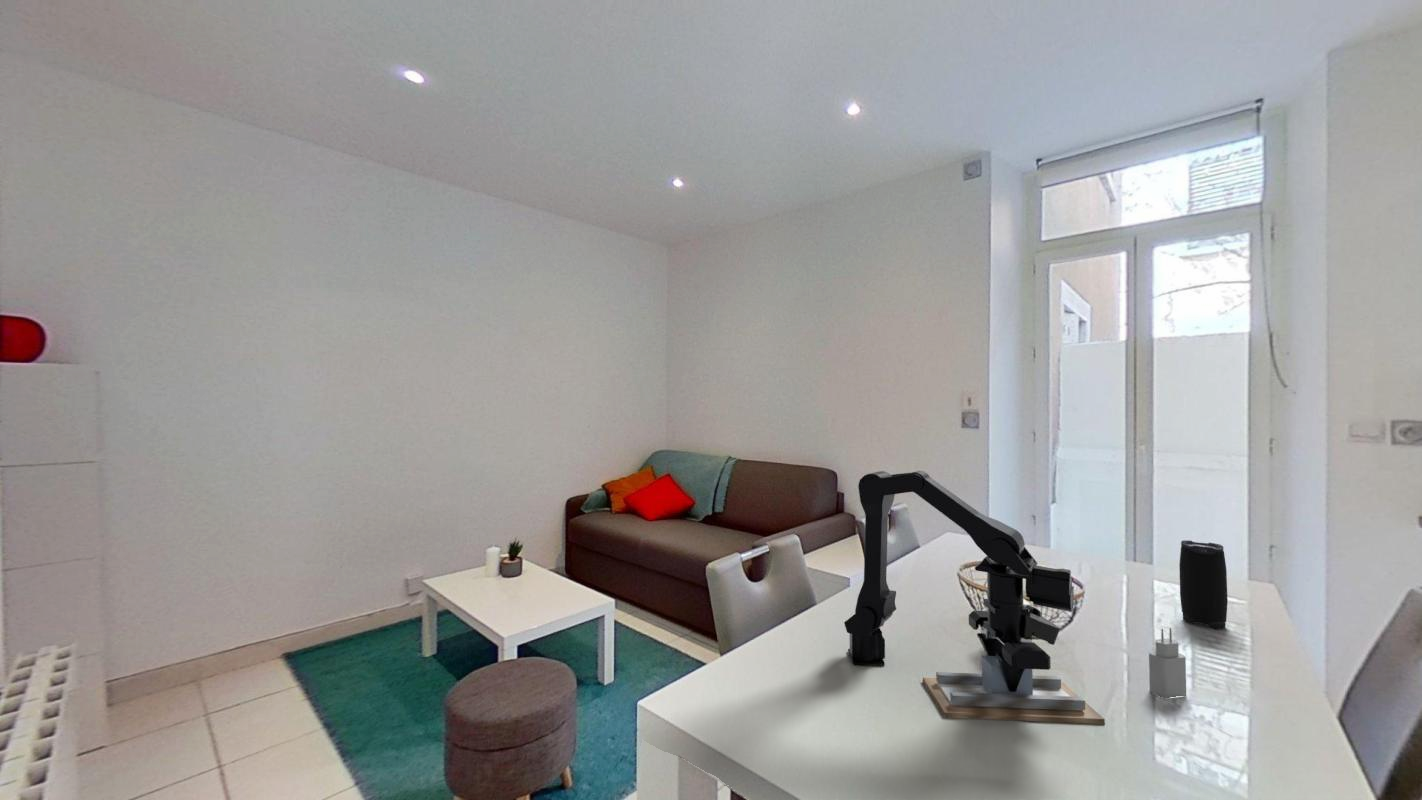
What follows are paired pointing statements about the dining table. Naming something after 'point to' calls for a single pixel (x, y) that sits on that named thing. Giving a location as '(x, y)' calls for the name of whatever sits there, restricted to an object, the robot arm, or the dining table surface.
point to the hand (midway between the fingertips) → (1006, 685)
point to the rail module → (995, 679)
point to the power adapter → (1167, 669)
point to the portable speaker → (1203, 584)
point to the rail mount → (1009, 700)
